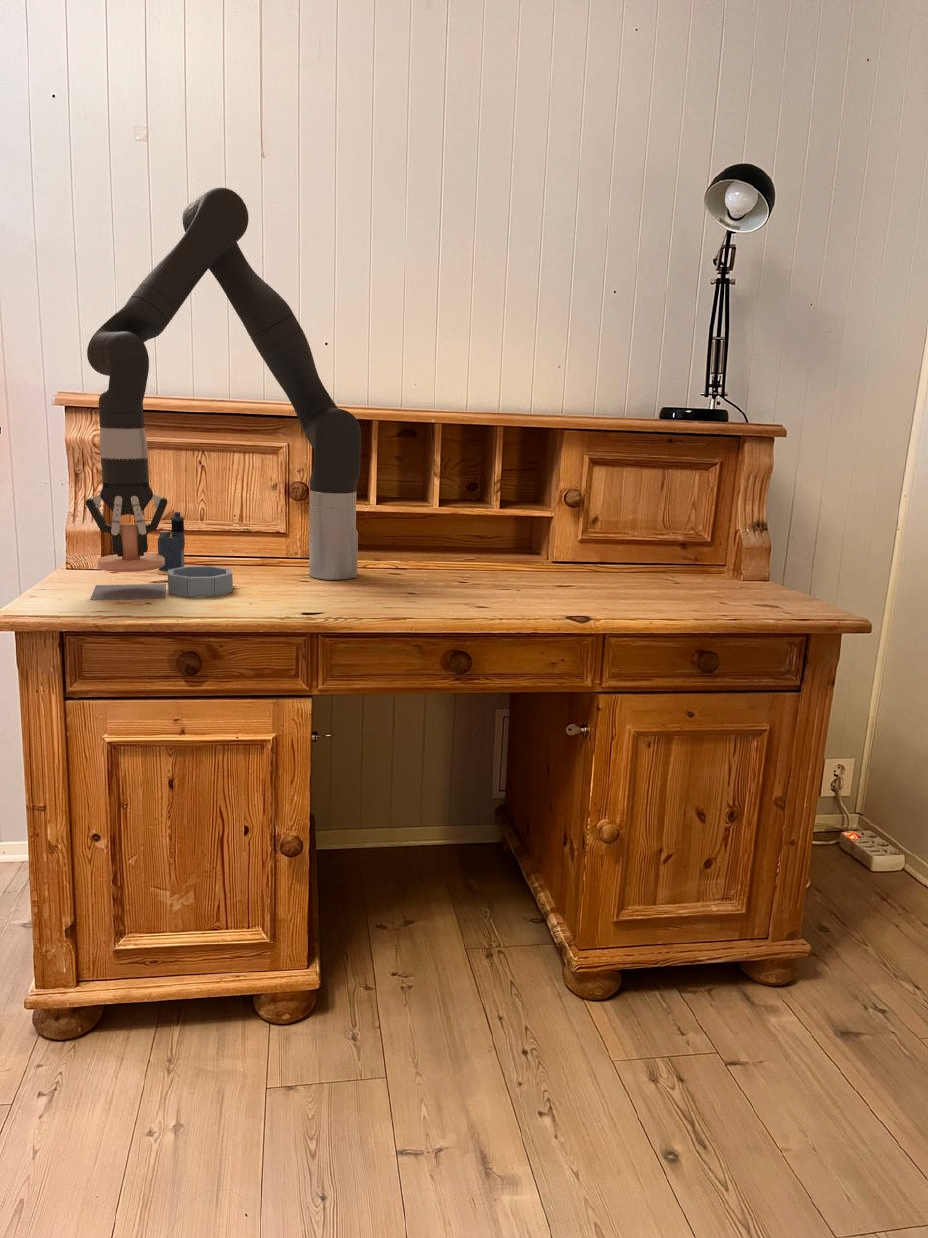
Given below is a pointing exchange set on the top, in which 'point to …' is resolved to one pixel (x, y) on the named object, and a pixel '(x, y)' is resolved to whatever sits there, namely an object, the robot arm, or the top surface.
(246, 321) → the robot arm
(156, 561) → the lid
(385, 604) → the top surface
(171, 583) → the bowl
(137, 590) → the mat
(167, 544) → the vaping device
